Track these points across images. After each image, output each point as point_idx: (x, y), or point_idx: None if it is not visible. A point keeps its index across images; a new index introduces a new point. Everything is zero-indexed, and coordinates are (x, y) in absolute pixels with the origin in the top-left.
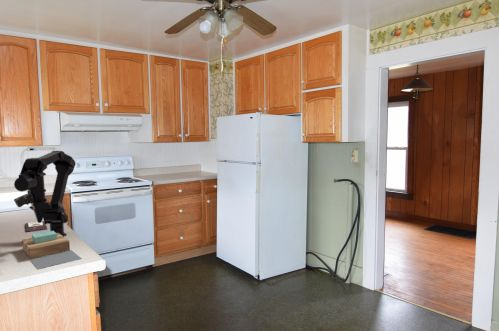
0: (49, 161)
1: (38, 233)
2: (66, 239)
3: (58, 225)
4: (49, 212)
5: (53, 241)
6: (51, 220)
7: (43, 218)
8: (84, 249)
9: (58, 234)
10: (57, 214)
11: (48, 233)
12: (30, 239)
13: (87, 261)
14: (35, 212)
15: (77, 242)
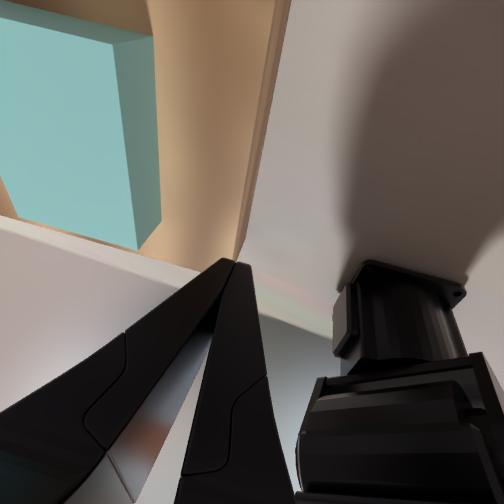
0: None
1: (119, 127)
2: (25, 219)
3: (348, 358)
4: (400, 492)
5: None
6: (385, 389)
7: (498, 405)
8: (16, 222)
9: (188, 260)
10: (299, 457)
11: (58, 184)
12: (208, 38)
13: None
14: (55, 429)
15: (154, 268)
